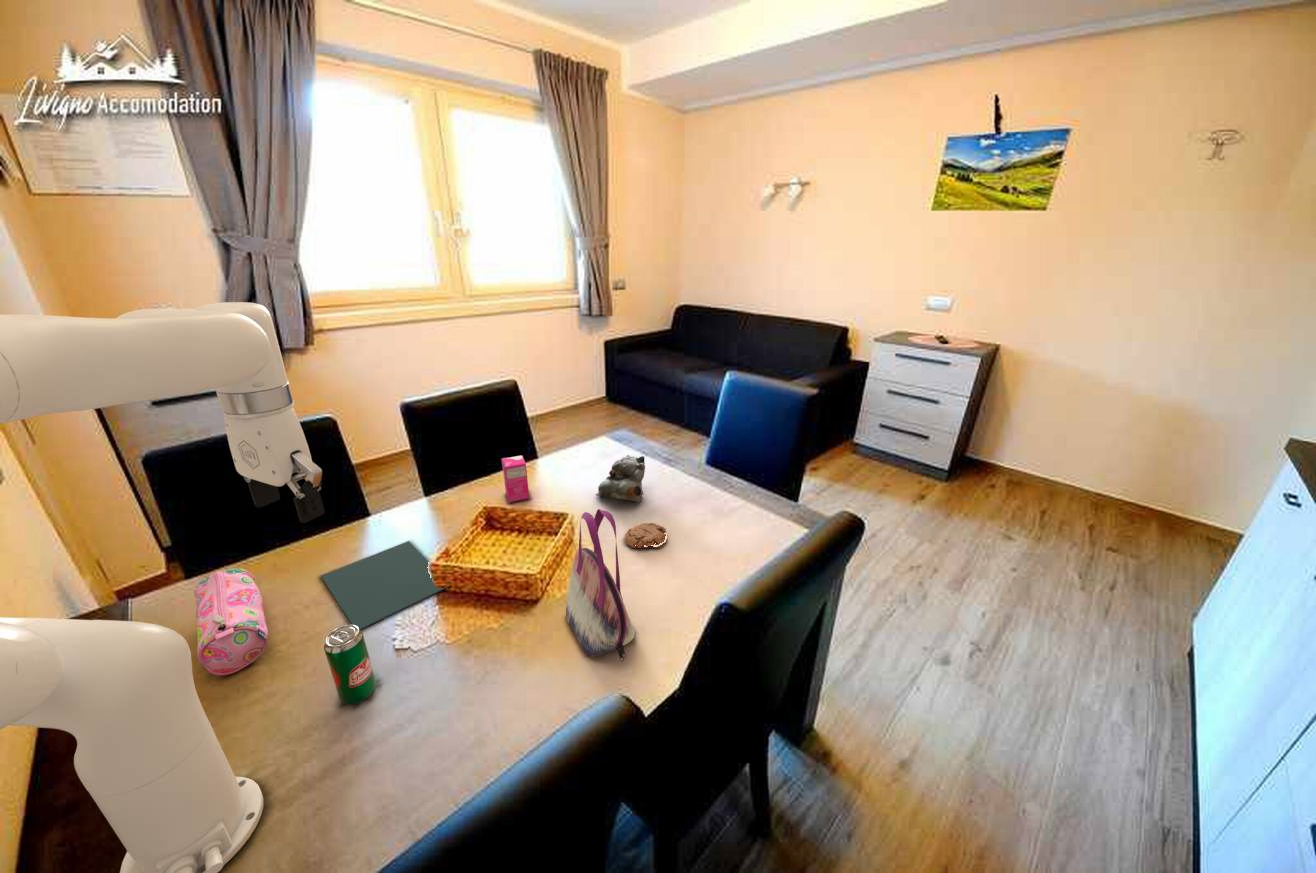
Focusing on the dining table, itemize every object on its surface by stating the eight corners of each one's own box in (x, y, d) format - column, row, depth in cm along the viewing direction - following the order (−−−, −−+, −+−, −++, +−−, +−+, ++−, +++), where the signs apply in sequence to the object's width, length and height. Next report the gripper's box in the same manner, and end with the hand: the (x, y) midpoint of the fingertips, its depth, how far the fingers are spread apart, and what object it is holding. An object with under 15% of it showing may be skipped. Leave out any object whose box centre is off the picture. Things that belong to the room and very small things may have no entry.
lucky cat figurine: (588, 494, 138) (598, 446, 139) (623, 500, 145) (633, 455, 146) (613, 502, 126) (625, 450, 127) (650, 508, 132) (661, 459, 134)
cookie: (617, 537, 119) (617, 527, 118) (651, 524, 125) (651, 514, 124) (640, 557, 111) (640, 546, 110) (675, 542, 117) (676, 532, 116)
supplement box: (505, 494, 137) (501, 457, 132) (526, 490, 139) (523, 454, 135) (508, 504, 132) (504, 466, 127) (530, 500, 134) (527, 463, 130)
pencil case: (275, 659, 82) (261, 618, 79) (204, 689, 76) (185, 646, 73) (263, 593, 97) (250, 556, 93) (203, 614, 91) (186, 575, 88)
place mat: (452, 586, 100) (451, 584, 100) (356, 632, 88) (356, 630, 88) (408, 542, 114) (408, 540, 114) (321, 577, 102) (320, 575, 102)
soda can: (360, 709, 74) (343, 651, 69) (332, 703, 75) (313, 644, 70) (384, 682, 79) (369, 625, 74) (357, 676, 79) (341, 620, 75)
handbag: (650, 658, 85) (654, 539, 75) (598, 681, 80) (595, 557, 70) (601, 586, 102) (600, 482, 92) (556, 602, 97) (549, 493, 88)
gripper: (184, 397, 64) (224, 509, 70) (269, 417, 58) (304, 538, 64) (247, 383, 70) (278, 487, 76) (329, 400, 64) (355, 511, 71)
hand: (290, 510), depth 70 cm, fingers open, 9 cm apart
